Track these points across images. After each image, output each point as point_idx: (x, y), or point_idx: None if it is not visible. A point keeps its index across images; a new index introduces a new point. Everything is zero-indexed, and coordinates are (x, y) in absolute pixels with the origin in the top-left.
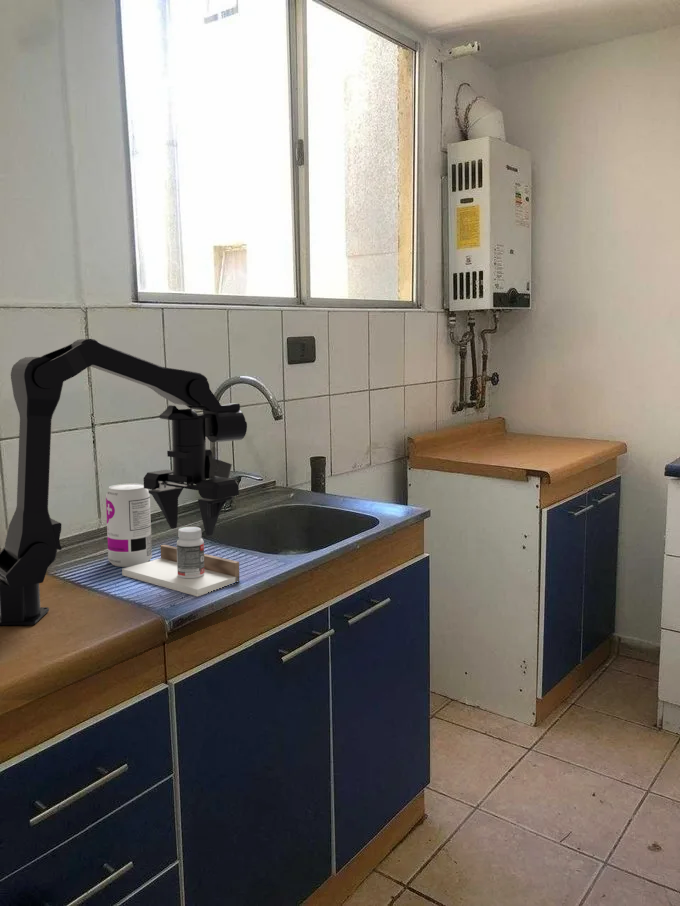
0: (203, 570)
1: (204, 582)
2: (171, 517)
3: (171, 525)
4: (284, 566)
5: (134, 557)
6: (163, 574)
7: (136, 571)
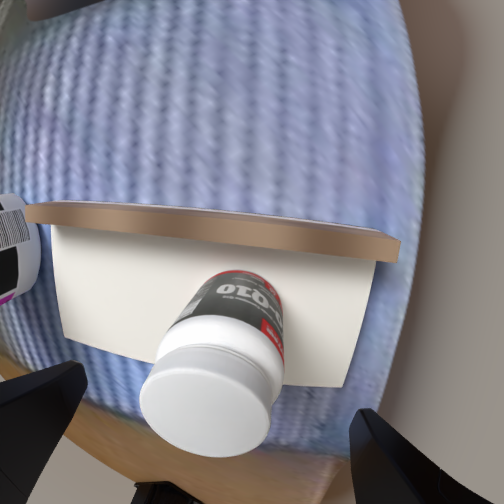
0: (279, 302)
1: (325, 341)
2: (58, 421)
3: (80, 397)
4: (380, 35)
5: (28, 276)
6: None
7: (97, 342)
